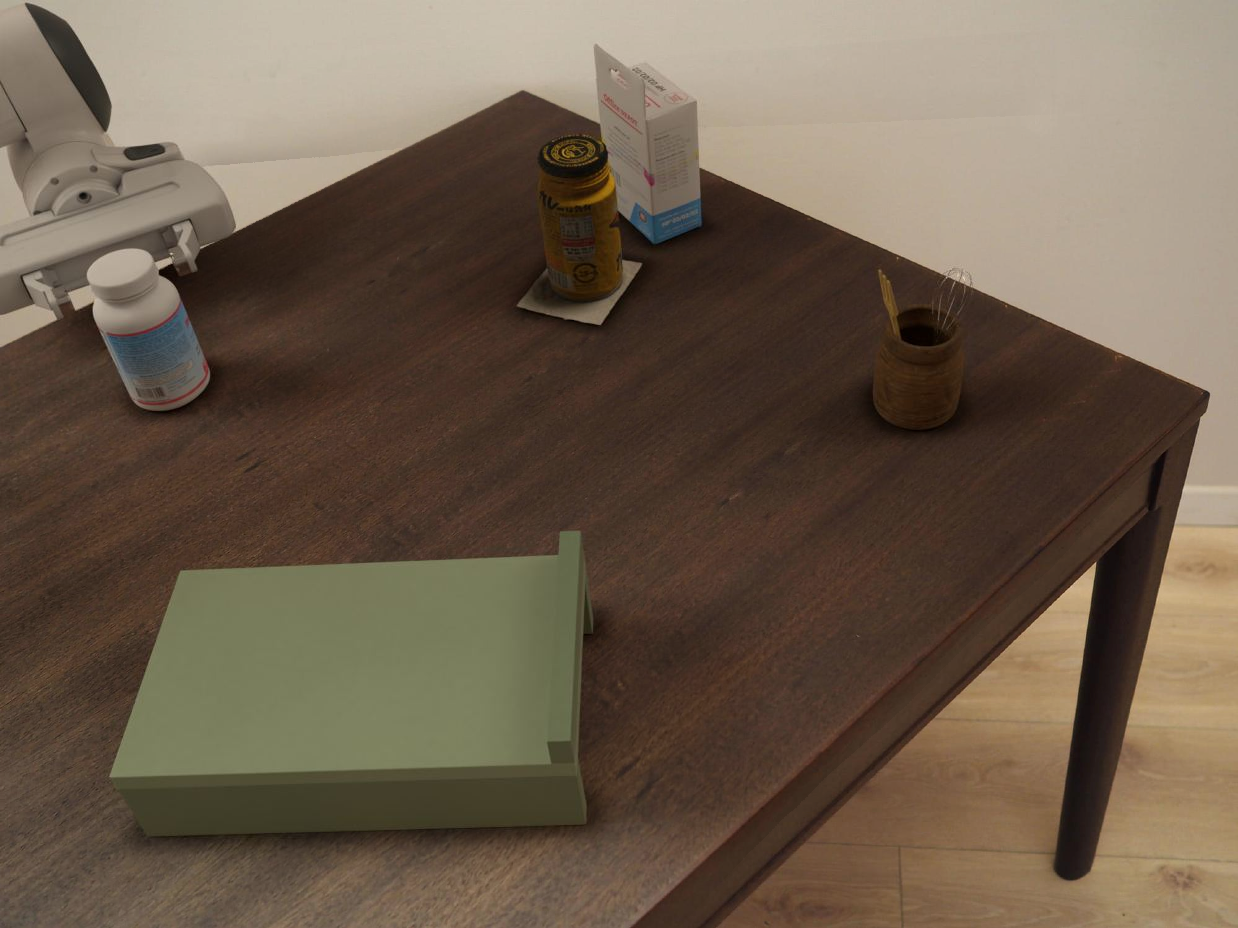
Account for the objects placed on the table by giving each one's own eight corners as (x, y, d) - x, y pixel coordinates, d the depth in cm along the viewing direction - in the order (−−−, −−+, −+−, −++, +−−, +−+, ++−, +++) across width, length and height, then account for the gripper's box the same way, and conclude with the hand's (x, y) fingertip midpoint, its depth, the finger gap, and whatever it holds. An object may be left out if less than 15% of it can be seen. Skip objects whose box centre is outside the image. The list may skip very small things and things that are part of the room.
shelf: (147, 836, 69) (94, 755, 64) (210, 632, 79) (168, 547, 74) (586, 825, 68) (570, 740, 62) (593, 618, 78) (580, 530, 72)
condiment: (642, 265, 104) (632, 134, 95) (600, 327, 98) (586, 193, 90) (562, 250, 106) (545, 120, 98) (516, 309, 101) (495, 177, 92)
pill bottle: (228, 376, 97) (182, 254, 90) (170, 423, 94) (116, 302, 86) (173, 353, 100) (123, 233, 92) (114, 399, 96) (57, 278, 89)
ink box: (705, 226, 107) (699, 63, 97) (654, 247, 105) (642, 83, 95) (654, 182, 112) (643, 23, 102) (604, 201, 111) (588, 41, 101)
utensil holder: (973, 420, 88) (996, 279, 79) (889, 443, 87) (903, 302, 78) (934, 369, 92) (952, 229, 83) (853, 390, 91) (863, 250, 82)
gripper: (-60, 214, 100) (-33, 302, 91) (192, 135, 106) (241, 209, 97) (-26, 280, 105) (3, 369, 96) (214, 199, 111) (263, 276, 102)
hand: (125, 287), depth 97 cm, fingers open, 8 cm apart
